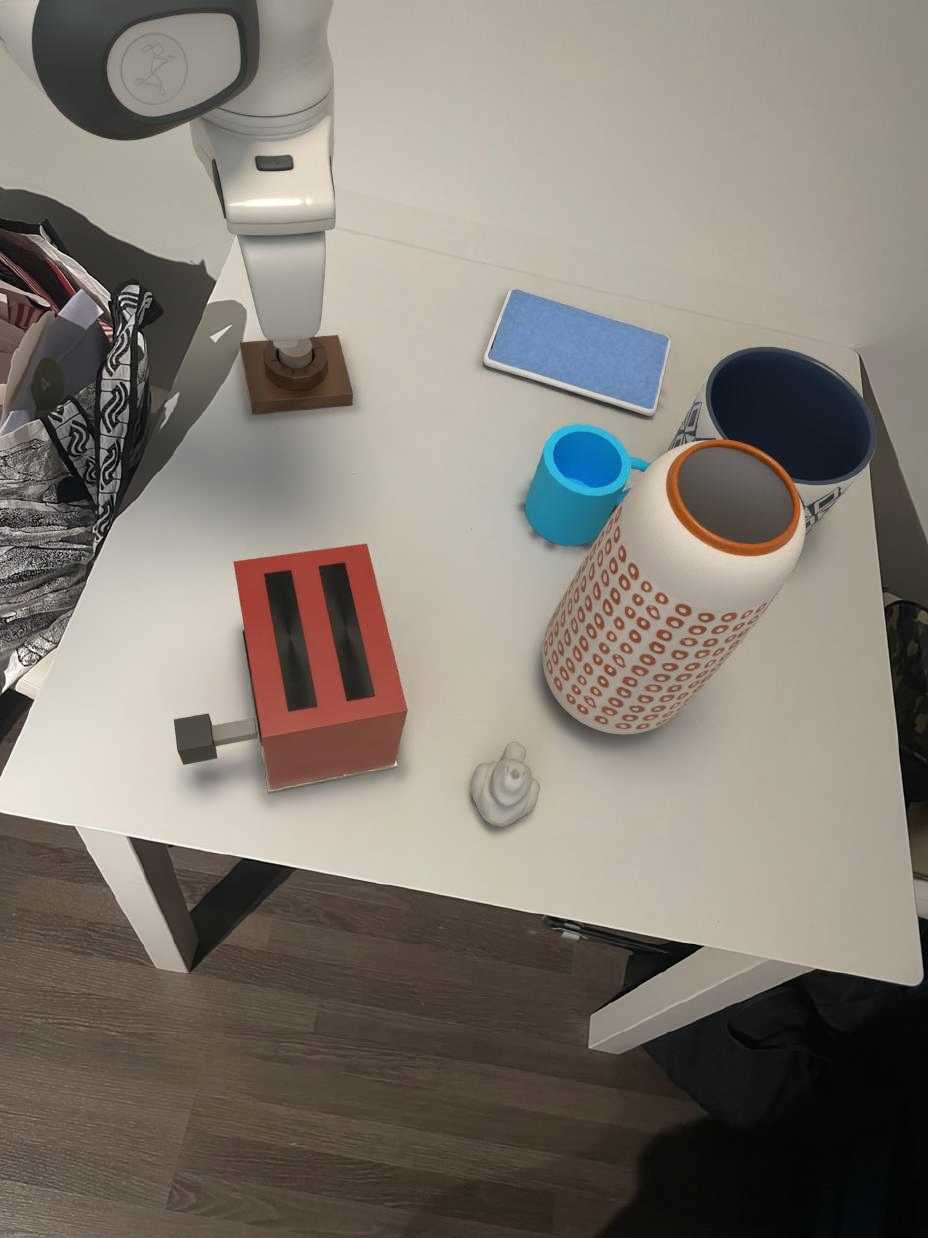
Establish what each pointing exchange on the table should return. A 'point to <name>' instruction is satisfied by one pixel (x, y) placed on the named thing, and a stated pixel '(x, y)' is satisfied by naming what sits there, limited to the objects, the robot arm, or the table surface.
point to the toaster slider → (208, 736)
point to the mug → (578, 484)
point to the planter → (787, 420)
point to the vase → (673, 585)
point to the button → (297, 355)
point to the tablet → (579, 351)
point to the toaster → (320, 666)
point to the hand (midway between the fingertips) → (275, 294)
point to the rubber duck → (505, 787)
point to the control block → (296, 377)
